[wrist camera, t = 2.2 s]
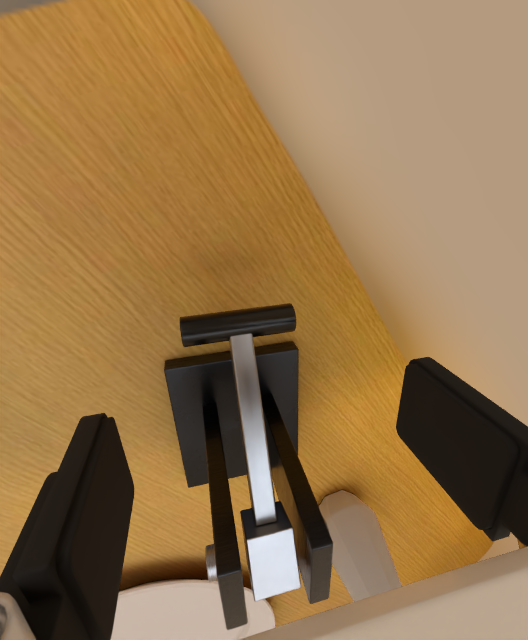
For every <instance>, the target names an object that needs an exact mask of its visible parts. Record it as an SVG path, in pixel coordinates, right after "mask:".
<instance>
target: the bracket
mask: <svg viewBox="0 0 528 640" xmlns="http://www.w3.org/2000/svg"><path fill="white" fill-rule="evenodd" d="M254 350H255V357H256V364H257V372H258V379H259V386H260V394H261V401H262V408H263V416H264V423H265V430H266V438H267V445H268V453H269V460H270V467H271V475H272V478H273V482H274V485H275V489H276V492H277V495H278V499H279V501H281V503H282V505H283V507H284V509H285V511H286V514H287V516H288V518H289V520H290V522H291V525H292V527H293V531H294V539H295V546H296V553H297V561H298V566H299V569H300V573H301V576H302V579H303V583H304V586H305V590H306V593H307V596H308V600H309V603H310V604H313V603H316V602H319V601H322V600H325V599H328V598H329V590H330V578H331V567H332V555H333V541H332V538H331V536H330V532H329V528H328V525H327V523H326V521H325V519H324V517H323V516H322V514H321V512H320V509H319V507H318V504H317V502H316V499H315V497H314V495H313V492H312V490H311V487H310V485H309V482H308V480H307V477H306V475H305V473H304V470H303V468H302V465H301V463H300V460H299V458H298V348H297V346H296V345H295V343H294V342H287V343H280V344H273V345H267V346H260V347H254ZM164 372H165V377H166V382H167V387H168V391H169V396H170V401H171V406H172V411H173V416H174V421H175V426H176V431H177V435H178V440H179V445H180V450H181V455H182V460H183V465H184V470H185V475H186V480H187V484H188V487H189V488H190V487H194V486H199V485H203V484H207V483H209V492H210V503H211V515H212V526H213V538H214V544H211V545H208V546H206V548H205V553H206V566H207V575H208V580H209V582H212V581H216V580H218V586H219V591H220V597H221V602H222V608H223V613H224V619H225V624H226V629H227V630H230V629H234V628H237V627H240V626H243V625H246V624H247V623H248V619H247V611H246V603H245V595H244V586H243V578H242V570H241V563H240V556H239V549H238V543H237V536H236V529H235V523H234V516H233V509H232V503H231V496H230V489H229V483H228V479H229V478H234V477H238V476H243V475H247V470H246V463H245V455H244V448H243V441H242V433H241V426H240V418H239V411H238V404H237V396H236V389H235V381H234V374H233V367H232V359H231V352H230V351H227V352H220V353H214V354H207V355H200V356H194V357H187V358H180V359H174V360H167V361H165V367H164Z"/></svg>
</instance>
